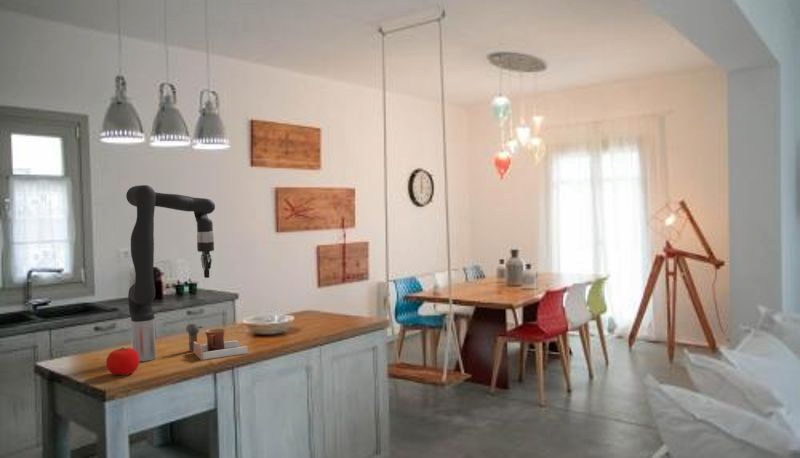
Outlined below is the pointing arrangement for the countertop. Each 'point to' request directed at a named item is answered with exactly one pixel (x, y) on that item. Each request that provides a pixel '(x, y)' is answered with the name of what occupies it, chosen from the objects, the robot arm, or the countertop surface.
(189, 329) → the winch prop
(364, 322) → the countertop surface
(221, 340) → the mug
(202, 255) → the robot arm
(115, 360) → the tomato
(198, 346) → the tray
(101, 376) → the countertop surface
